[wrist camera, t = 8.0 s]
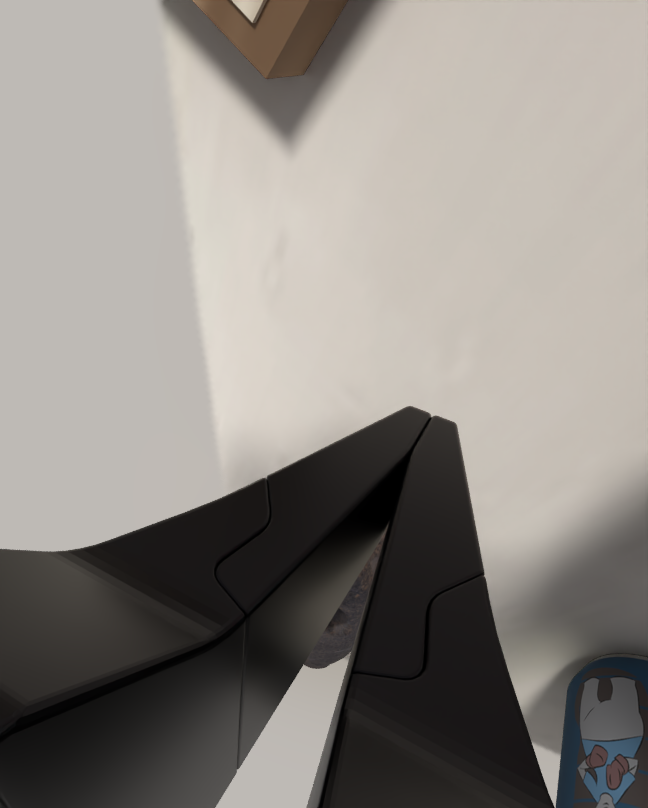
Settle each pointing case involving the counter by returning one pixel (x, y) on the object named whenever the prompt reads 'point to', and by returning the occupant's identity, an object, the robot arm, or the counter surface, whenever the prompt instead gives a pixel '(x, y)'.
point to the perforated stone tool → (345, 619)
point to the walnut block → (275, 30)
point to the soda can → (606, 735)
